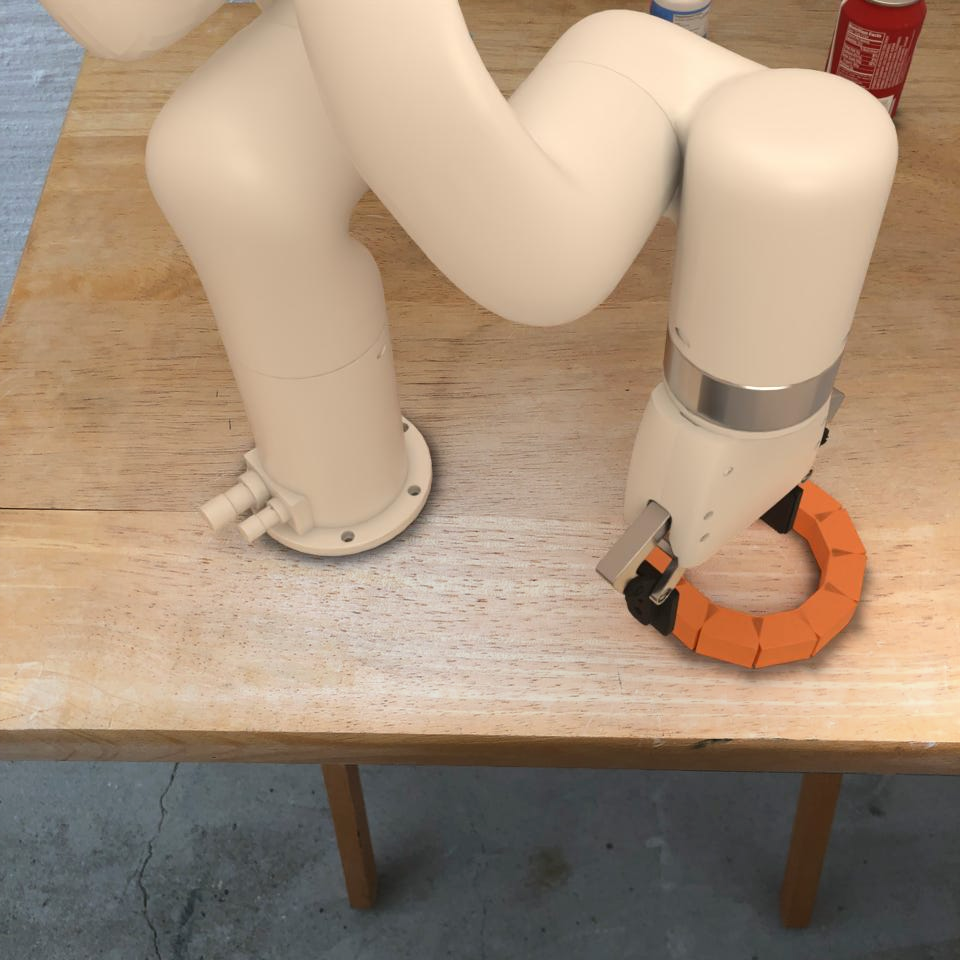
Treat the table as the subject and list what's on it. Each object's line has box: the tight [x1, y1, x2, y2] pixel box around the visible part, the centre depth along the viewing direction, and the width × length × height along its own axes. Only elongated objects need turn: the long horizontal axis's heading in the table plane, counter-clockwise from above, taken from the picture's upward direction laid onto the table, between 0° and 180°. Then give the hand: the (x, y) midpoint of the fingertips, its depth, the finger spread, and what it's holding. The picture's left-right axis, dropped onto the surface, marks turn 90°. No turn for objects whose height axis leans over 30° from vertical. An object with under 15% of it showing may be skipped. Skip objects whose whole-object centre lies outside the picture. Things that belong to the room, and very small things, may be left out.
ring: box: [644, 479, 868, 669], centre depth 69 cm, size 14×14×2 cm
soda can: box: [823, 0, 928, 120], centre depth 93 cm, size 7×7×12 cm
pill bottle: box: [648, 0, 712, 39], centre depth 100 cm, size 6×5×10 cm
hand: (709, 565), depth 62 cm, fingers open, 9 cm apart
